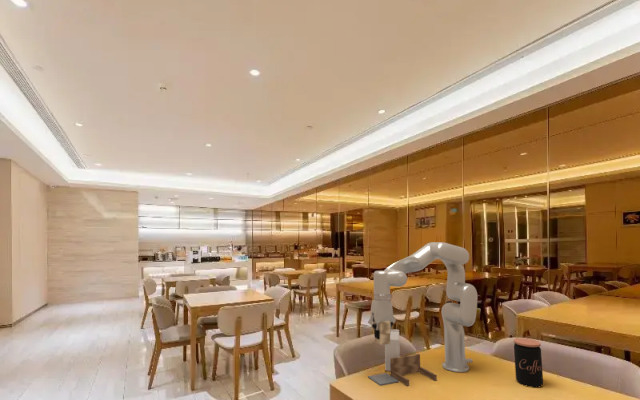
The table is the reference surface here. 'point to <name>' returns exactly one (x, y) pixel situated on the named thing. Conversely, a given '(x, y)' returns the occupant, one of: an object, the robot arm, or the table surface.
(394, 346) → the milk carton
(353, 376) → the table surface
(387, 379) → the coaster
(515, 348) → the coffee jar
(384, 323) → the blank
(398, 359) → the wooden arch bench
